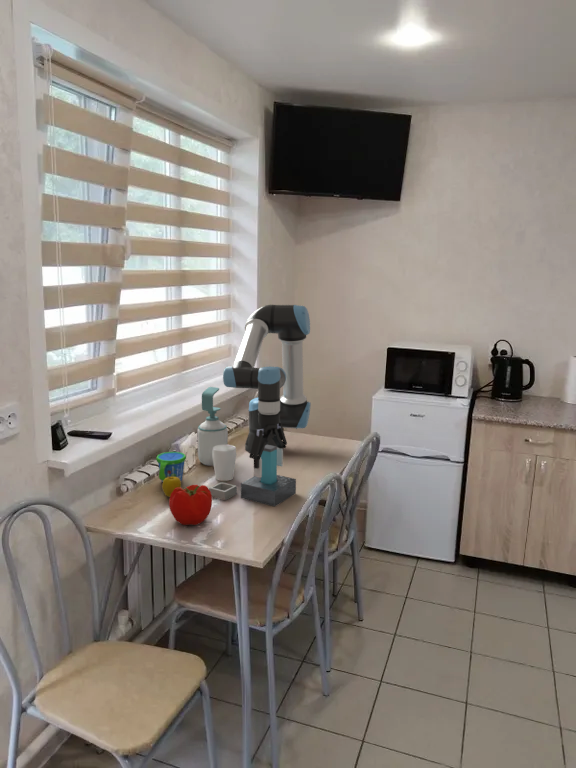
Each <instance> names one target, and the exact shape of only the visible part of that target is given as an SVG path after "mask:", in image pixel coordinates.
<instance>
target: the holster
mask: <svg viewBox="0 0 576 768" xmlns="http://www.w3.org/2000/svg"><path fill="white" fill-rule="evenodd" d="M208 489H209V490H210V492H211V495H212V498H215V499H219V500H223V501H227V500H228V499H230V498H232V497H233V496H235V495H238V485H235V484H231V483H226V482H224V481H220V482H218V483H216V484H214V485H213V486H210V487H209V488H208Z"/></svg>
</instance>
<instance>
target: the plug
mask: <svg viewBox="0 0 576 768" xmlns="http://www.w3.org/2000/svg"><path fill="white" fill-rule="evenodd" d="M260 459H262V477H261V483H265V484H269V485H272V484H274V483H275V482H277V475H278V472H277V471H278V468H277V467H278V466H277V446H272V445H265V448H264V450H263V453H262V455H261V458H260Z"/></svg>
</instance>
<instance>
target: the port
mask: <svg viewBox="0 0 576 768" xmlns="http://www.w3.org/2000/svg"><path fill="white" fill-rule="evenodd" d="M296 493H297V478H293V477H288V476H284V475H280V474H277V482H275V483H274V484H272V485H269V484H265V483H261V478H260V477H255V476H254V475H253V476H252V477H250V478H248V479H246V480H244V481H242V482H241V483H240V499H243V500H246V501H250V502H254V503H259V504H262V505H267V506H270V507H277V506H278V505H280V504H281V503H283V502H285V501H286V500H288V499H289V498H291V497H293V496H295V495H297V494H296Z"/></svg>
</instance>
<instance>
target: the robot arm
mask: <svg viewBox="0 0 576 768" xmlns="http://www.w3.org/2000/svg"><path fill="white" fill-rule="evenodd" d="M309 313H310V312H309V310H308V308H307V307H306V306H305V305H297V304H267V305H266V304H265V305H263V306H261V307H260V308H258V309H256V310H254V312H253V313H251V315H249V317H248V318H247V320H246V322H245V324H244V332H245V333H244V335H243V338H242V341H241V343H240V345H239V349H238V351H237V354H236V356H235V360H234V362H233V366H231V365H230V366H226V367H225V368H224V369H223V374H222V382H223V385H224V386H225V388H234V389H255V390H257V392H258V394H257V396H258V397H255V398H252V399H251V400H250V401H249V405H248V434H247V437H246V440H245V444H244V450H245V451H246V453H249V456H248V457H249V458H250V459H253V477H254V476H255V477H260V478H261V477H262V459H261V455H262V453H263V450H264V448H265V445H272V446H277V467H283V465H284V449H286V447H287V444H288V441H287V438H286V435H285V431H284V429H285V428H287V429H296V430H297V429H305V428H307V426H308V423H309V419H310V412H311V402H310V401H308V397H307V396H306V395H305V394H304V359H303V358H304V354H303V353H304V348H303V345H304V341H305V340H306V339H307V336H308V335H309V334H310V332H311V320H310V314H309ZM268 334H277V339H278V340H279V341H280V342H281V357H282V359H281V360H282V361H281V362H282V364H281V365H282V368H281V367H279V366H263V367H261V366H260V367H255V365H256V362H257V359H258V358H259V357H258V356H259V355H260V354H259V353H260V350H261V348H262V344H263V341H264V339H265V338H266V337H267V336H268ZM281 388H282V395H281Z"/></svg>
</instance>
